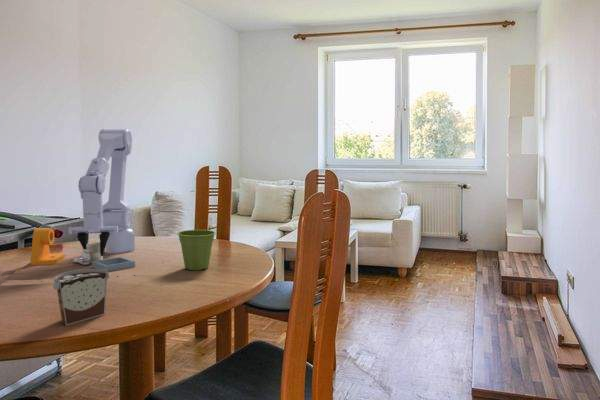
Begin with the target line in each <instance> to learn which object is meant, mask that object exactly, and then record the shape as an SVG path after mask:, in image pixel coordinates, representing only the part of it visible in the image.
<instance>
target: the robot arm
mask: <svg viewBox="0 0 600 400" xmlns="http://www.w3.org/2000/svg"><path fill="white" fill-rule="evenodd" d="M98 143H99V149H98V151H97V155H96V157H95V158H93V159H91V162H90V164H89V165H88V168H87V170H86V173H85V175H82V176H81V177H80V178H79V179H78V190H79V193H80V199H81V200H82V215H83V216H82V217H83V226H73V227H71V226H70V227H69V228H68V235H75V234H76V237H77V240H78V241H79V243H80V245H81V247H82V250H83V249H86V244H88V243H89V235H90V234H99V235H98V237H99V242H100V245H101V249H100V253H101V256H103V257H104V256H105V253H106V254H122V253H127V252H134V251H135V250H136V246H135V245H136V242H135V232H134V231H133V229H132V228H130V227H131V225H132V214H131V213H132V212H131V211H132V209H131V207H130V206H129V205H127V203H126V202H125V201H124V198H125V197H124V196H125V181H126V166H127V158H128V156H129V155H131V153H132V145H133V138H132V133H131V131H130V130H129V129H128V128H124V129H122V128H119V129H118V128H116V129H115V128H111V129H110V128H108V129H107V128H102V129H100V131H99V132H98ZM110 159H111V161H110ZM109 161H110V162H111V163H110V164H109ZM109 169H110V177H109V188H108V189H109V190H108V201H106V202H105V203H104V204H103V193H104V192H105V190H106V181H107V179H106V176H107V174H108V171H109Z"/></svg>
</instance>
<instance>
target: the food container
mask: <svg viewBox="0 0 600 400" xmlns="http://www.w3.org/2000/svg"><path fill="white" fill-rule="evenodd" d="M108 279H110V274H109V272H107V270H105V269H96V268H84V269H76V270H75V269H74V270H70V271H65V272H62V273H58V274H57V275H56V276H55V279H54V281H53V289H54V290H56V291H57V298H58V305H59V312H60V318H61V324H62V325H63V326H65V327H66V326H71V325H73V324H77V323H81V322H84V321H87V320H88V321H89V320H91V319H95V318H97V317H101V316H104V315H106V304H107V303H106V302H107V300H106V299H107V284H108V283H107V280H108Z"/></svg>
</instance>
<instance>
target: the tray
mask: <svg viewBox="0 0 600 400" xmlns="http://www.w3.org/2000/svg"><path fill="white" fill-rule="evenodd" d="M91 267H92V268H93V269H105V270H107V272H108V273H110V272H113V271H119V270H125V269H131V268H136V261H135V260H132V259H129V258H126V257H122V256H118V257H111V258H105V259H103V260H97V261H92V263H91Z"/></svg>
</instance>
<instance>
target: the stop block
mask: <svg viewBox="0 0 600 400" xmlns="http://www.w3.org/2000/svg"><path fill="white" fill-rule="evenodd" d="M86 249H87V250H89V252H90V262H89V264H92V261H97V260H104V259H103V257H104V256H101V253H100V249H101V245H100V241H92V242H89V241H88V244H86Z"/></svg>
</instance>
